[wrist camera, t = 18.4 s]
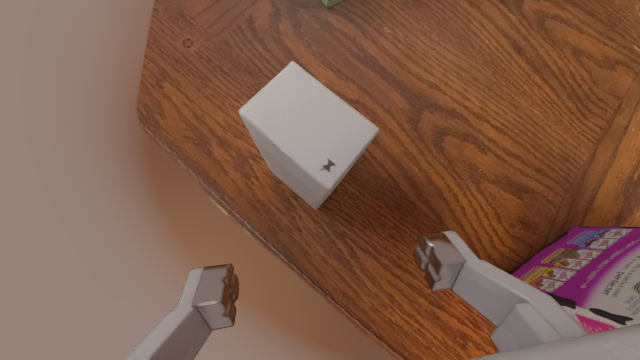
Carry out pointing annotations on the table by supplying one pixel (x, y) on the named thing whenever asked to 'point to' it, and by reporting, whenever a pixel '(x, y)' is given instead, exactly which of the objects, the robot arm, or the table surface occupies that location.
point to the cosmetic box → (306, 133)
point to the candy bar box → (590, 275)
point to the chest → (330, 2)
